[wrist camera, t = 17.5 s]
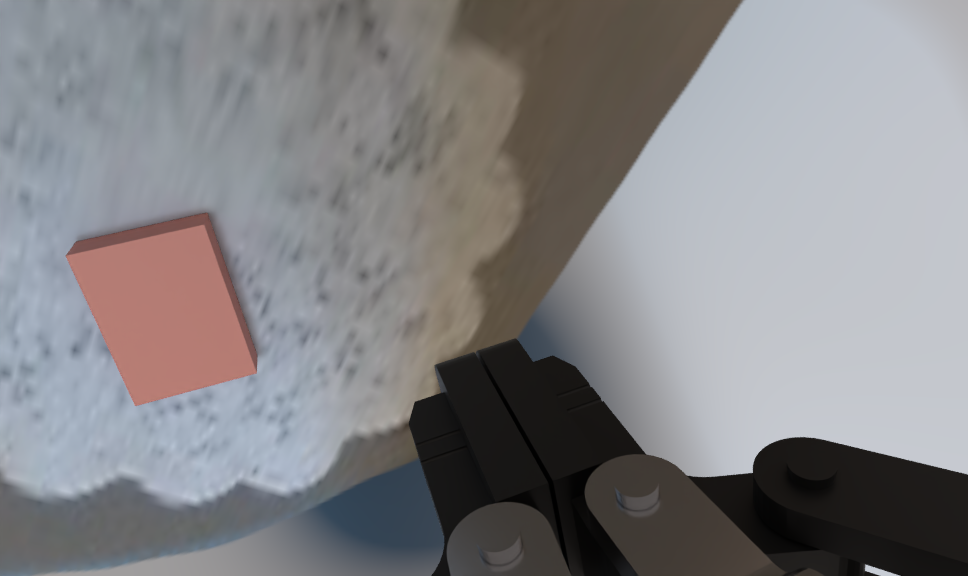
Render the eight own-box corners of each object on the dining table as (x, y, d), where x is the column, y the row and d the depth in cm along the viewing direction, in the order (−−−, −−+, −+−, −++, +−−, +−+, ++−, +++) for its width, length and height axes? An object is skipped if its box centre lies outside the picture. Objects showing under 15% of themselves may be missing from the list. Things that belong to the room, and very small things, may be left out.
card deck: (207, 210, 36) (77, 239, 35) (203, 224, 34) (65, 255, 33) (257, 352, 40) (142, 383, 39) (256, 373, 38) (135, 406, 37)
